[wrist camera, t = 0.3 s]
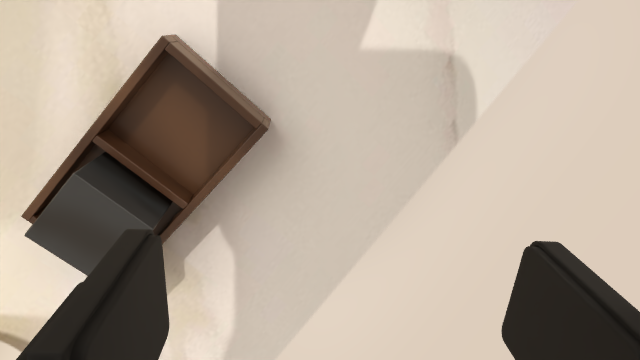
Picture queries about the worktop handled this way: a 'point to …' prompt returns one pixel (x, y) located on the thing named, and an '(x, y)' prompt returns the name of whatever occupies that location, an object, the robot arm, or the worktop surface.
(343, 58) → the worktop surface
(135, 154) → the partitioned wooden crate
